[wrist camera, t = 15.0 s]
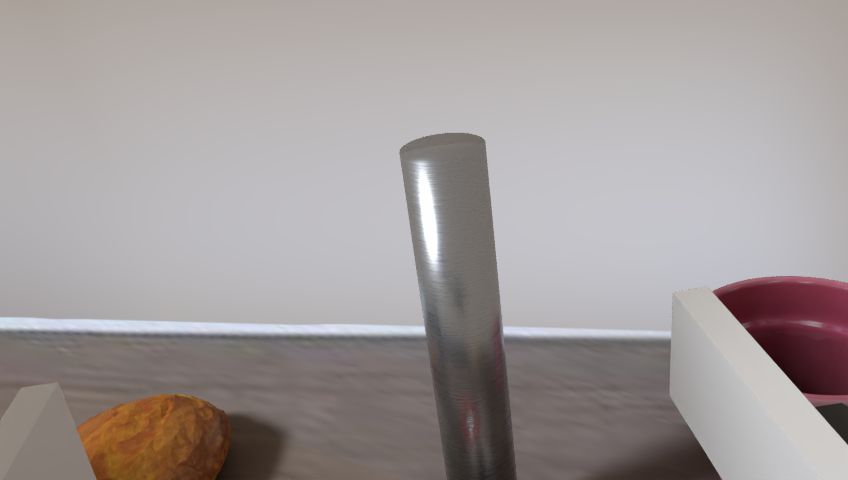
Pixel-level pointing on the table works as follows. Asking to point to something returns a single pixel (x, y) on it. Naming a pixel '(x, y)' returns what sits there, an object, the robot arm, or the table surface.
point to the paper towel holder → (461, 302)
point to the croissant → (158, 440)
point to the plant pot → (798, 329)
